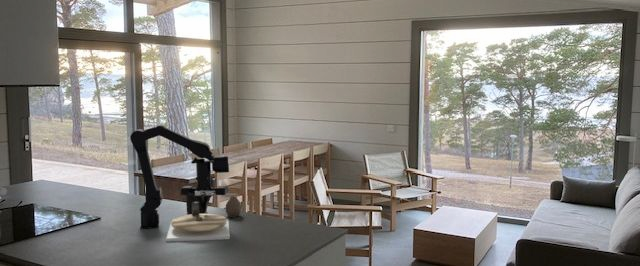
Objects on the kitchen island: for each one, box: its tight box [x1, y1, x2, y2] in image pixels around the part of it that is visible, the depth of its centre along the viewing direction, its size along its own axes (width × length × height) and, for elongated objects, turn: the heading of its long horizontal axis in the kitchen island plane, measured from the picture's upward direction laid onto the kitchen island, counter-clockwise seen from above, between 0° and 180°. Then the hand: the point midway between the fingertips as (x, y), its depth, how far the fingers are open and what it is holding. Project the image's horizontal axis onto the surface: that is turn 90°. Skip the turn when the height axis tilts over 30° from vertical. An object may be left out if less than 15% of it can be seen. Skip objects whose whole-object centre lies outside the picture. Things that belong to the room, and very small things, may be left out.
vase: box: [225, 195, 242, 218], centre depth 229 cm, size 7×7×9 cm
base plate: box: [165, 219, 231, 243], centre depth 205 cm, size 23×23×1 cm
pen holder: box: [185, 190, 208, 215], centre depth 234 cm, size 9×9×10 cm
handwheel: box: [171, 202, 227, 231], centre depth 205 cm, size 22×21×8 cm
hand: (205, 211), depth 214 cm, fingers closed
